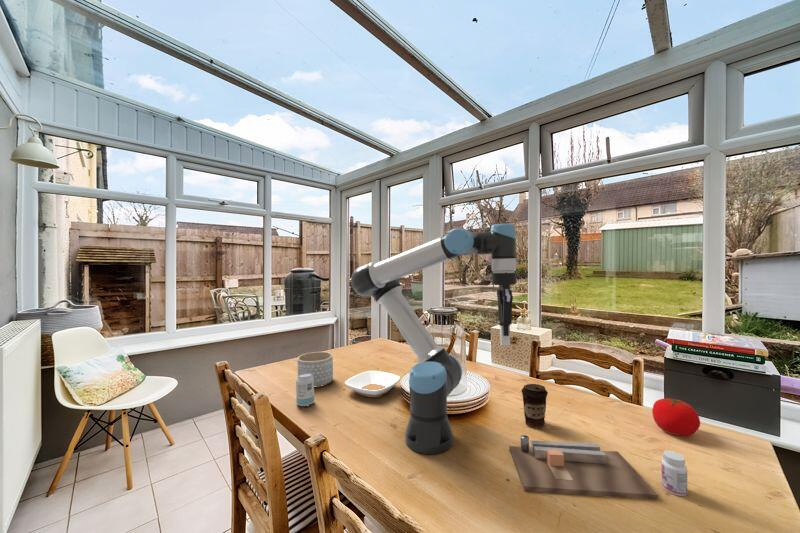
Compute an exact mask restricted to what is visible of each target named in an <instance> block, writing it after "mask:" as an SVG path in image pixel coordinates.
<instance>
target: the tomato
mask: <svg viewBox="0 0 800 533" xmlns="http://www.w3.org/2000/svg"><path fill="white" fill-rule="evenodd" d="M651 413H652V417H653V420H654V422H655V425H657V426H658V428H660V429H661V430H663V431H664V432H666V433H668V434H671V435H675V436H679V437H689V436H692V435H694V434H696V433H697V431H699V428H700V426H701V420H700V416H699V415H698V413H697V411H696V410H695V408H693V406H692V405H690V404H689V403H687V402H686V401H683V400H680V399H674V398H671V397H670V398H661V399H657V400H656V401H654V403H653V404H652V412H651Z"/></svg>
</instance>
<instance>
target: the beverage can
mask: <svg viewBox="0 0 800 533" xmlns="http://www.w3.org/2000/svg"><path fill="white" fill-rule="evenodd" d="M295 392H296V394H295V395H296V398H295V399H296V400H295V401H296V405H297V406H299V407H301V406H307V405H310V404H311V405H312V404H313V403H314V402H315V388H314V378H313V376H312V374H311V373H301V374H299V375H298V374H297V377H296V379H295ZM311 405H310V406H311ZM307 407H308V406H307Z"/></svg>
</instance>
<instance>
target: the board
mask: <svg viewBox="0 0 800 533" xmlns="http://www.w3.org/2000/svg"><path fill="white" fill-rule="evenodd" d="M508 449H509V454H510V455H511V459H512V460H513V463H514V466H515V470H516V472H517V475H518V477H519V480H520V483H521V486H522V488H523V490H524V491H523V492H534V493H548V494H549V493H550V494H562V495H563V494H565V495H577V494H578V495H579V496H591V495H592V496H595V497H606V496H610V497H609V498H620V499H621V498H622V499H623V498H626V499H637V500H638V499H639V500H641V499H642V500H650V501H651V500H653V501H654V500H655V501H659V498H660V497H659V493H657V492H656V491H655V489H654V488H653V487H652V486H651V485H650V484H649V482H647V481H646V480H645V479H644V478H643V477H642V476H641V475H640V473H638V472H637V470H635V468H634V467H633V466H632V465H631V464H630V463H629V462H628V461H627V460H626V458H624V457H623V456H622V454H620V452H619V451H616V450H615V451H613V450H612V451H611V450H602V451H603V452H604V453H605V454H606V460H607V464H597V463H585V462H572V461H564V466H550V465H549V463H548V461H547V459H536V458H535V456H534V452H533V451H532V449H531V446H529V453H524V452H522V451H521V446H516V445H515V446H511V445H509V446H508ZM578 495H577V496H578Z"/></svg>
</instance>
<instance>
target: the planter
mask: <svg viewBox="0 0 800 533" xmlns="http://www.w3.org/2000/svg"><path fill="white" fill-rule="evenodd" d="M333 358H334V357H333V353H331V352H328V351H313V352H307V353H304V354H303V353H302V354H301V355H299V356H297V359H296V360H297V361H296V362H297V376H298V375H299V374H301V373H311V374H312V376H313V378H314V386H321V385H325V384H327V383H328V384H329V383H331V382H332V381H333V380H334V361H333V360H334V359H333ZM328 384H327V385H328ZM325 386H326V385H325Z"/></svg>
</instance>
